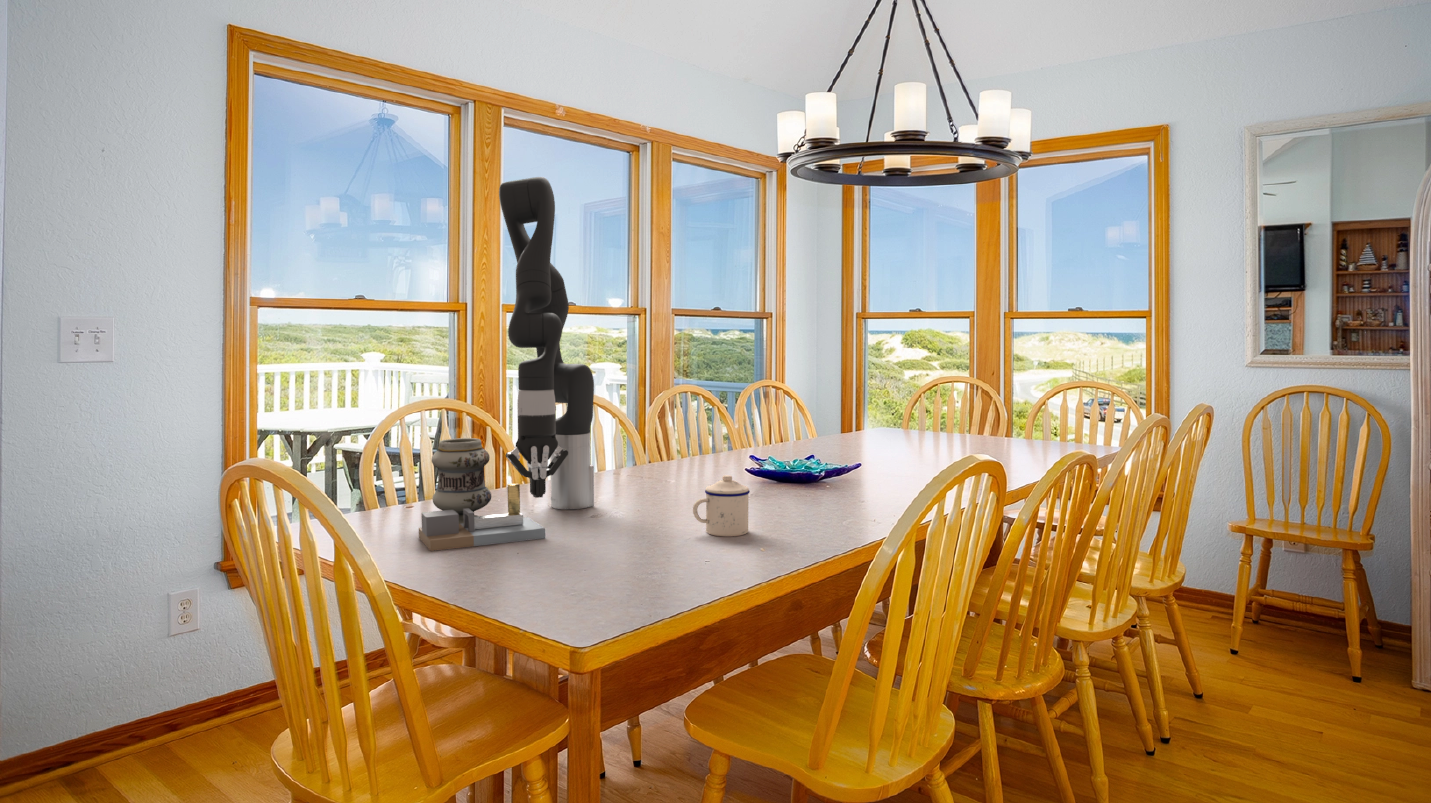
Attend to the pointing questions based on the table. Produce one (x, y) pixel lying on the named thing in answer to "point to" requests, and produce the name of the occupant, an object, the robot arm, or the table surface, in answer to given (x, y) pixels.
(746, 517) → the teacup with lid
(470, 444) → the apothecary jar
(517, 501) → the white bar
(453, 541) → the door and jamb lock plate
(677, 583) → the table surface
